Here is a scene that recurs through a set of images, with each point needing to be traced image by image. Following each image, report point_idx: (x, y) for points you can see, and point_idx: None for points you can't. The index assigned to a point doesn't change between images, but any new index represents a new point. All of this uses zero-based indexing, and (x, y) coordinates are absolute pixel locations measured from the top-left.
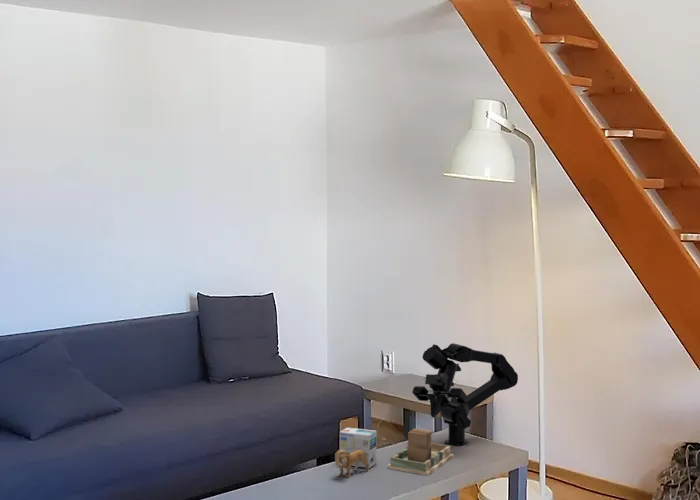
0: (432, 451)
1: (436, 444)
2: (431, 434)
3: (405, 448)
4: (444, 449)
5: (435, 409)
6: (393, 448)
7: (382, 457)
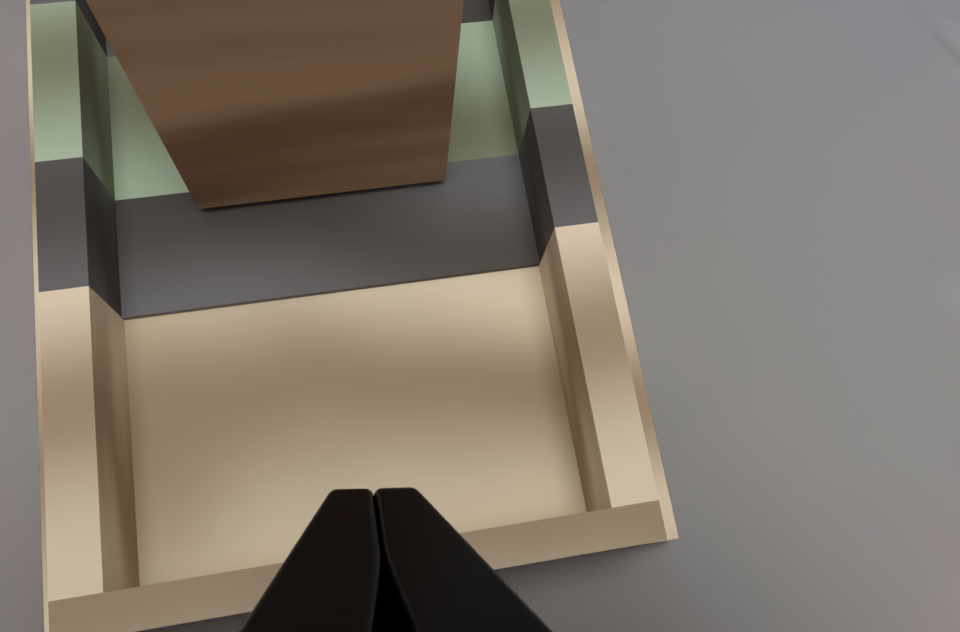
0: None
1: None
2: (88, 3)
3: (571, 110)
4: (66, 413)
5: (275, 614)
6: (921, 429)
7: (778, 75)
